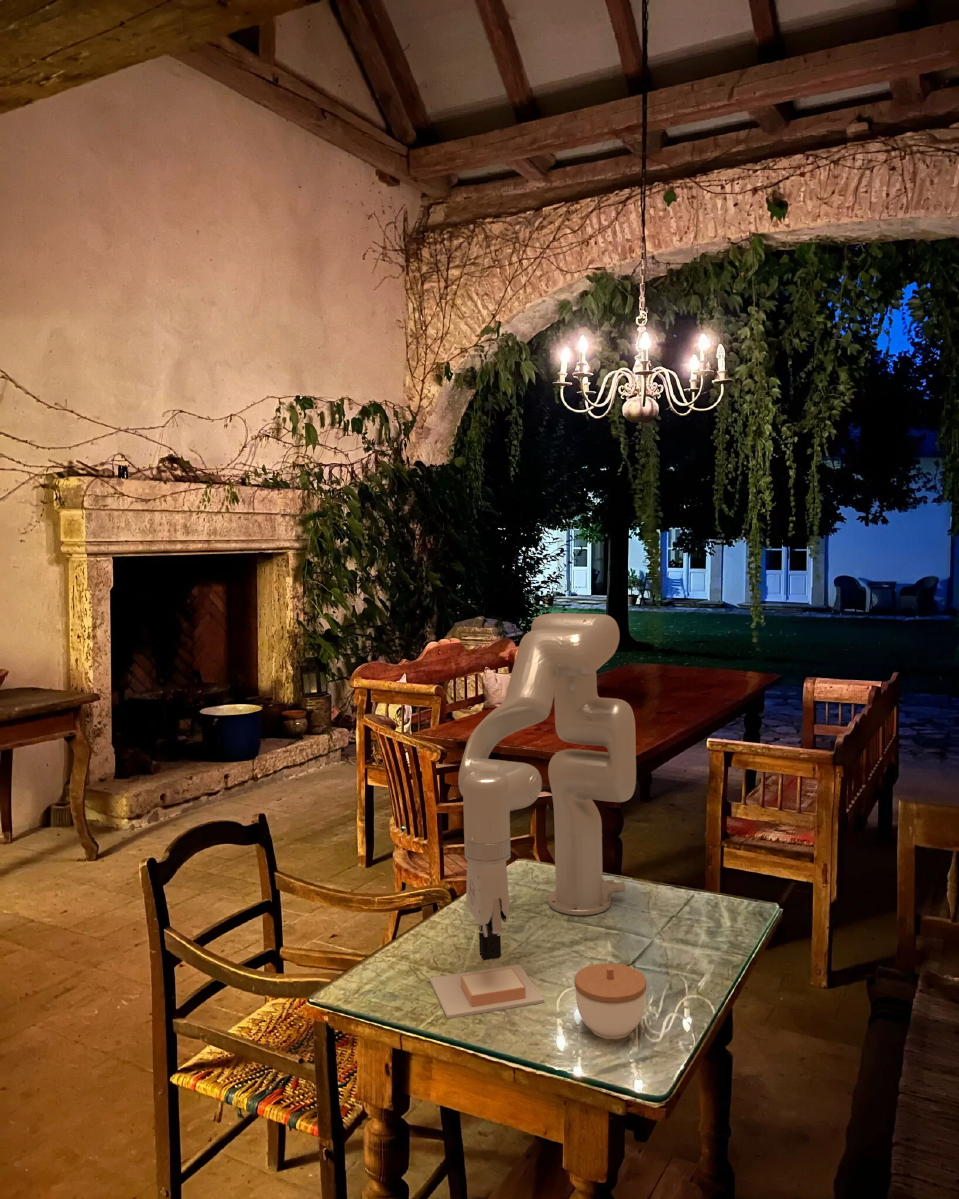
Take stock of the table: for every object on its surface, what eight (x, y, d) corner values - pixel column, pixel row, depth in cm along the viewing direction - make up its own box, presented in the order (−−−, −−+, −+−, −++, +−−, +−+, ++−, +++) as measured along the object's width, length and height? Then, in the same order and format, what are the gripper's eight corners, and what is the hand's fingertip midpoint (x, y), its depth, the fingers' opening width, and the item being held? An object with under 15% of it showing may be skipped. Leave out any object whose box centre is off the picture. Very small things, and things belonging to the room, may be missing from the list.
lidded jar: (562, 1034, 138) (561, 974, 137) (595, 1004, 146) (594, 946, 146) (628, 1056, 131) (627, 992, 131) (658, 1022, 140) (657, 963, 140)
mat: (519, 967, 160) (519, 964, 160) (544, 1002, 147) (544, 999, 147) (429, 980, 155) (429, 977, 155) (447, 1018, 143) (447, 1015, 143)
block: (512, 968, 154) (525, 987, 148) (512, 978, 154) (525, 998, 148) (460, 976, 152) (471, 995, 145) (460, 986, 152) (471, 1007, 145)
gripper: (454, 836, 156) (457, 941, 157) (477, 865, 142) (480, 981, 143) (496, 831, 158) (499, 935, 159) (523, 860, 144) (526, 974, 145)
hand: (490, 956), depth 151 cm, fingers closed
